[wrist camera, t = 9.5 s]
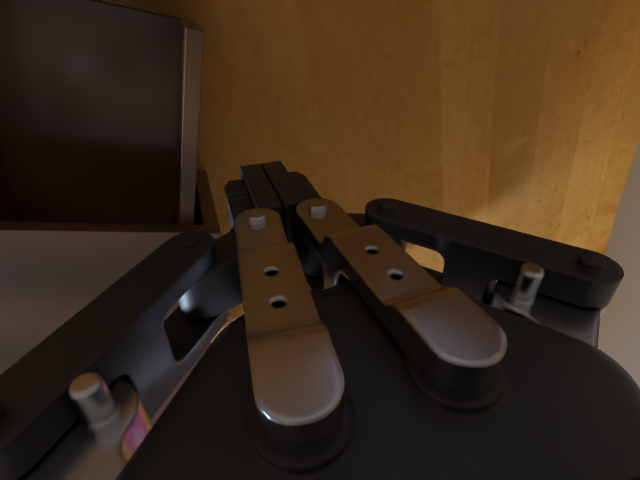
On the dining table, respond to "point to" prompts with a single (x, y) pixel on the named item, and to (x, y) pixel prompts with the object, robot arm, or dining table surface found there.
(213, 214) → the cabinet
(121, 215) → the drawer
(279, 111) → the dining table surface
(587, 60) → the dining table surface
